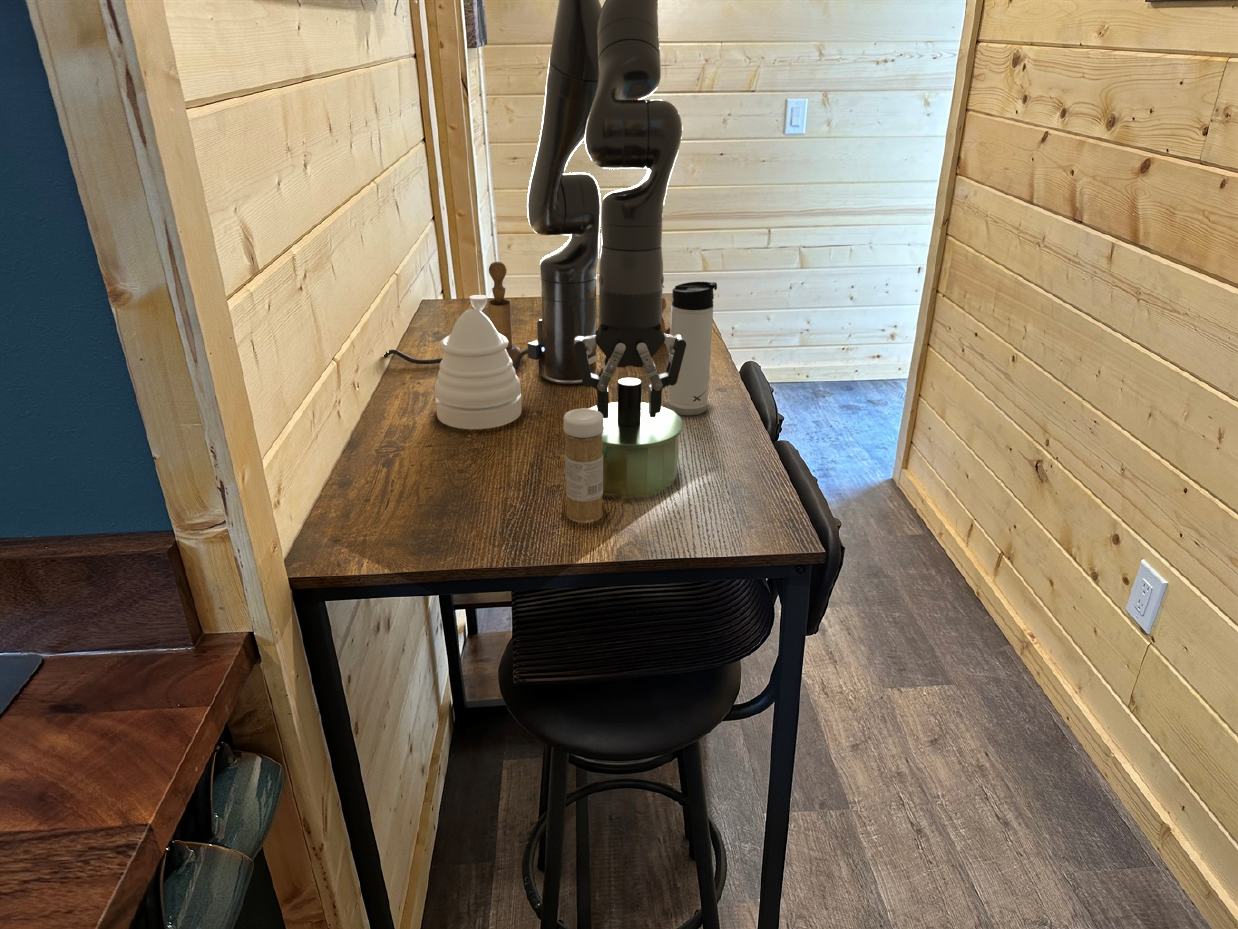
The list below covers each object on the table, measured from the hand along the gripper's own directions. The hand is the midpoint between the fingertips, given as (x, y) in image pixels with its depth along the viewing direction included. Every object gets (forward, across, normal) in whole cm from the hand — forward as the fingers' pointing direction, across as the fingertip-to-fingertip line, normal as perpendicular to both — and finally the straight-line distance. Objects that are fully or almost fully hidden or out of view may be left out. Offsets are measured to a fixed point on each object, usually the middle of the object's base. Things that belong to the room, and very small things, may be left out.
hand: (628, 415), depth 105 cm
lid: (+1, 0, 0) cm, 1 cm away
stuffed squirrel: (+9, -7, -58) cm, 59 cm away
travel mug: (+9, -12, -23) cm, 27 cm away
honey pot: (+9, +21, -22) cm, 32 cm away
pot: (+9, 0, 0) cm, 9 cm away
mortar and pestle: (+9, +19, -46) cm, 50 cm away
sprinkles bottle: (+9, +6, +10) cm, 15 cm away
